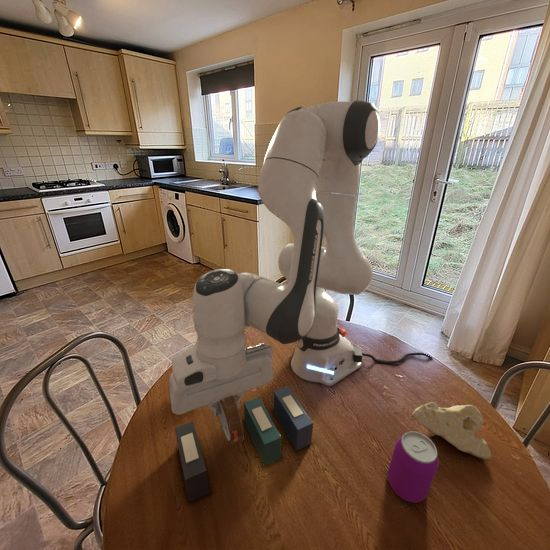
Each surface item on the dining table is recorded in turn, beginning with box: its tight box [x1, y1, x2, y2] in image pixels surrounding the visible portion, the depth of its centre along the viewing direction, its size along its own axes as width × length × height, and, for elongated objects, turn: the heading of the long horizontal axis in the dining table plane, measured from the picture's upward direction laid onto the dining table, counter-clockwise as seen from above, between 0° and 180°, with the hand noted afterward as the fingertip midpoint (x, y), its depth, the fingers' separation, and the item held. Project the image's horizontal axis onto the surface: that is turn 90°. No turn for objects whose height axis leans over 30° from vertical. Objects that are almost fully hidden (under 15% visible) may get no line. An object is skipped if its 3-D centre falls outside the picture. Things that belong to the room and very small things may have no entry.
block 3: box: [272, 385, 314, 451], centre depth 71 cm, size 4×12×7 cm, turn 26°
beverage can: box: [387, 430, 440, 504], centre depth 58 cm, size 8×8×12 cm
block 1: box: [174, 420, 210, 503], centre depth 61 cm, size 4×12×7 cm, turn 26°
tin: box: [215, 395, 245, 445], centre depth 59 cm, size 15×3×8 cm, turn 25°
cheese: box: [411, 400, 492, 460], centre depth 69 cm, size 15×7×15 cm
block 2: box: [243, 396, 282, 467], centre depth 67 cm, size 4×12×7 cm, turn 26°
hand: (225, 409), depth 60 cm, fingers closed on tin, 2 cm apart
